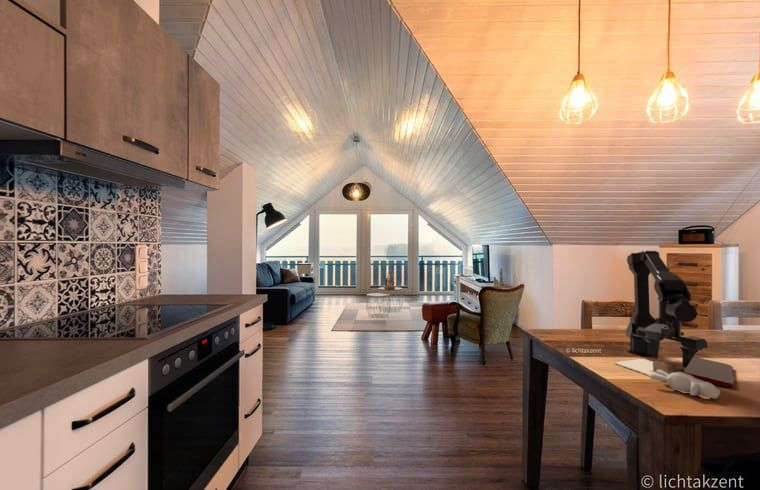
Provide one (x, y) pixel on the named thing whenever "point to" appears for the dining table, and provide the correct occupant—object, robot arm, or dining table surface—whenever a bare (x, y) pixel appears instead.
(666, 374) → the bunny figurine
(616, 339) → the dining table surface
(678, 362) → the slotted tan box
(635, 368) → the mat
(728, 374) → the grey and red slab
